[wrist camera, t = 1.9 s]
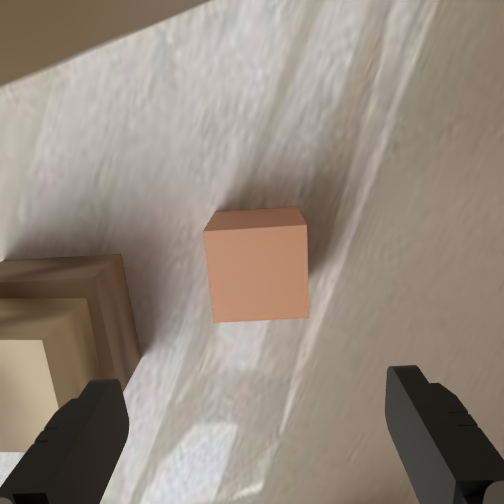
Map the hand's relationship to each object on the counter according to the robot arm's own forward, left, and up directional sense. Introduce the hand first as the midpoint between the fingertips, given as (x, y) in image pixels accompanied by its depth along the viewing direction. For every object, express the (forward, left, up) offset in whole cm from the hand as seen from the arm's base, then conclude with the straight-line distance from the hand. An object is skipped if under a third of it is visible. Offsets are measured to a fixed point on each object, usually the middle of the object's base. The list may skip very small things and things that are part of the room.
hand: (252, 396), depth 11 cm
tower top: (+14, +4, -10) cm, 18 cm away
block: (0, 0, -14) cm, 14 cm away
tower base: (+14, +4, -15) cm, 21 cm away
